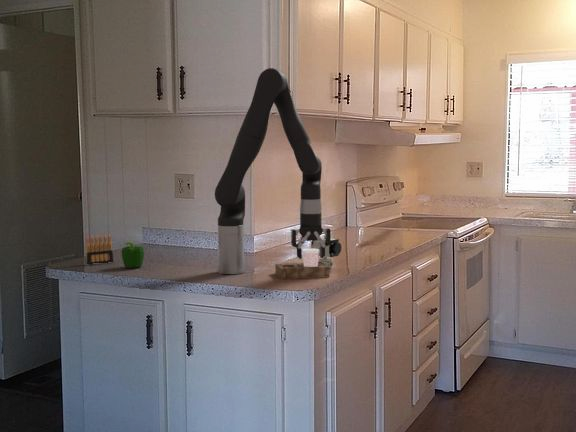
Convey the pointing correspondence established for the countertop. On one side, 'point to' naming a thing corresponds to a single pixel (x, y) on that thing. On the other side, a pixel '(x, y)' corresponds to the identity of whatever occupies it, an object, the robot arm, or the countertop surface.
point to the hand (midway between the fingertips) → (311, 258)
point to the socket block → (301, 270)
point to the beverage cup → (310, 257)
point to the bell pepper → (132, 256)
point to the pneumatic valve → (328, 250)
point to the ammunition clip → (99, 250)
